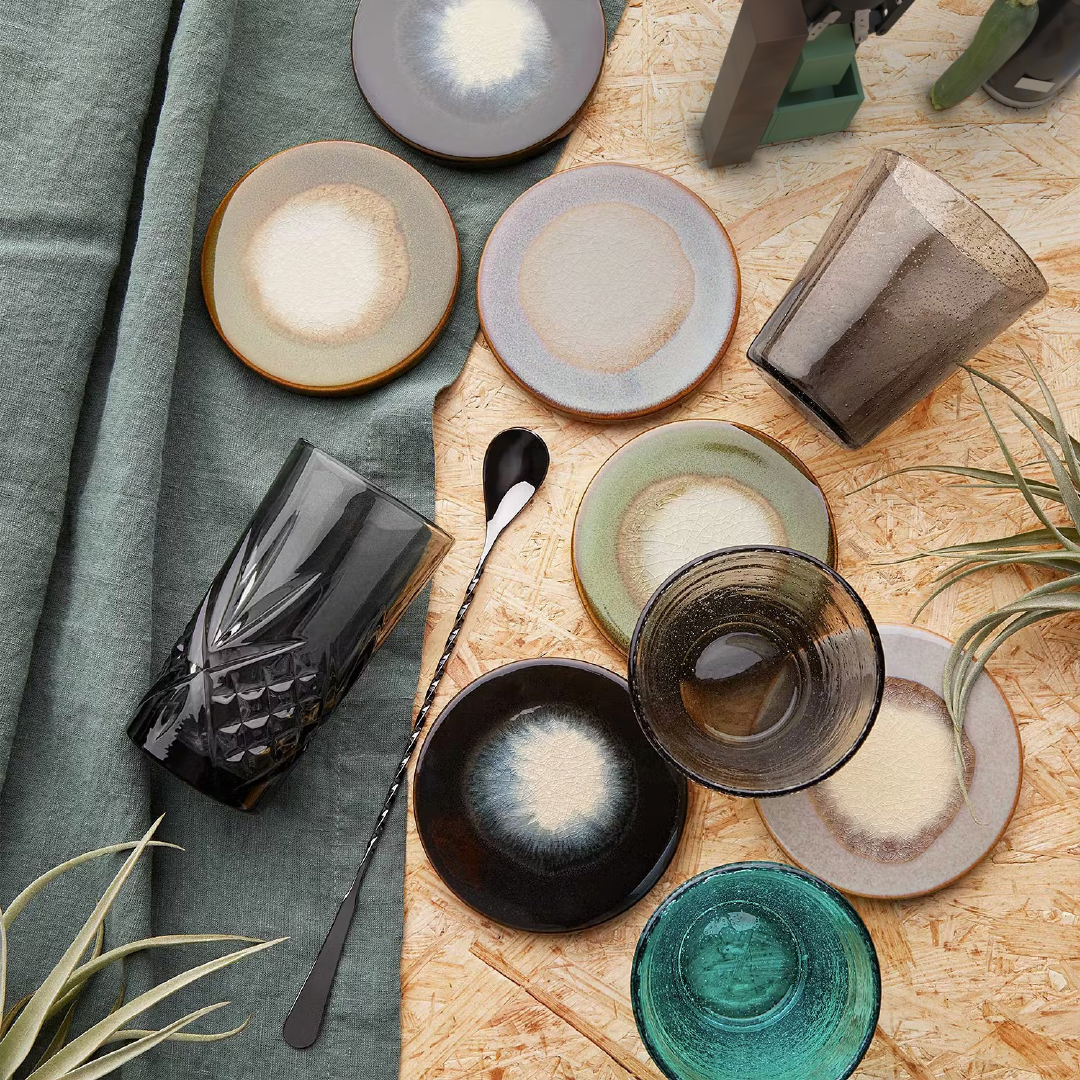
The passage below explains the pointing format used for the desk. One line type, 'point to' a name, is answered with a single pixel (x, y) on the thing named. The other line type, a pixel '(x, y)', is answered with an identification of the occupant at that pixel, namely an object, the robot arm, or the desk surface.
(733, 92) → the stand
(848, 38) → the sage block
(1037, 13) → the vegetable
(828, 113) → the sage bin
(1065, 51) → the robot arm
